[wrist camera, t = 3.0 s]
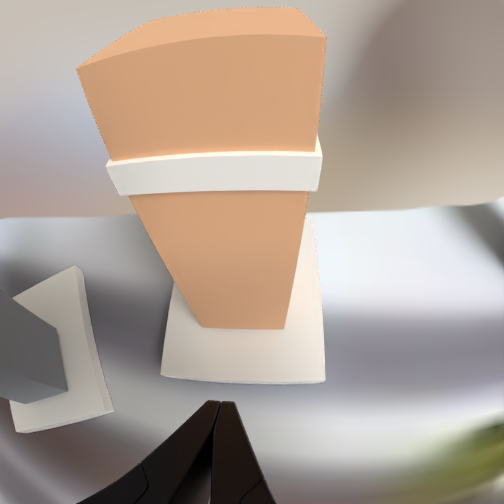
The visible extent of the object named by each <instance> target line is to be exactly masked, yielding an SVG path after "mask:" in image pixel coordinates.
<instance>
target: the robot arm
mask: <svg viewBox="0 0 504 504" xmlns="http://www.w3.org/2000/svg"><path fill="white" fill-rule="evenodd" d="M210 493H211V496H210ZM209 497H210V504H277V503H276V501H275V499H274V497H273V495H272V493H271V491H270V489H269V487H268V484H267V482H266V480H265V478H264V475H263V473H262V471H261V468H260V466H259V463H258V461H257V458H256V456H255V454H254V451H253V449H252V446H251V443H250V441H249V438H248V436H247V433H246V431H245V428H244V425H243V423H242V420H241V417H240V415H239V412H238V409H237V407H236V404H235V402H230V401H222V402H220V401H215V400H208V401H206V402H205V403H204V404H203V405H202V406H201V407H200V408H199V409H198V410H197V411H196V412H195V413H194V414H193V415H192V416H191V417H190V418H189V419H188V420H187V421H186V422H185V423H184V424H183V425H181V426H180V427H179V428H178V429H177V430H176V431H175V432H174V433H173V434H172V435H171V436H170V437H168V438H167V439H166V440H165V441H164V442H163V443H162V444H161V445H160V446H158V447H157V448H156V449H155V450H154V451H153V452H152V453H151V454H149V455H148V456H147V457H146V458H145V459H144V460H142V461H141V463H139V464H138V465H136V466H135V467H134V468H133V469H132V470H130V471H129V472H128V473H126V474H125V475H124V476H122V477H121V478H120V479H118V480H117V481H115V482H114V483H112V484H111V485H109V486H107V487H106V488H104V489H102V490H101V491H99V492H97V493H95V494H94V495H92V496H90V497H88V498H86V499H84V500H83V501H81V502H79V503H77V504H208V500H209Z"/></svg>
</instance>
